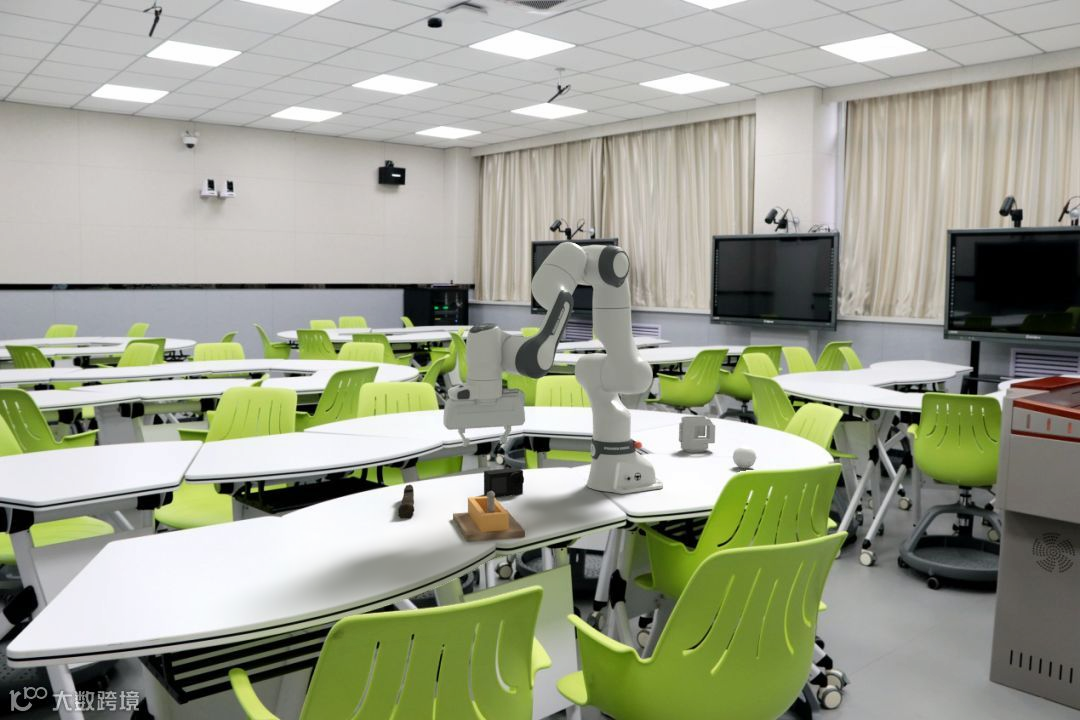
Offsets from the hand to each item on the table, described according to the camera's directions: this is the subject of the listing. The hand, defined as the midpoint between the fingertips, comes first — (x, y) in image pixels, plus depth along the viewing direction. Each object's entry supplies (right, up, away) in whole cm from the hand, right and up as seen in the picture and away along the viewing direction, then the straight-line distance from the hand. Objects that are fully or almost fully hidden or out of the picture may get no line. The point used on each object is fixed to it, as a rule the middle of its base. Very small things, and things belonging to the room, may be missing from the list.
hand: (484, 444), depth 204 cm
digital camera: (+4, -17, +28) cm, 33 cm away
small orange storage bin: (+1, -19, -1) cm, 19 cm away
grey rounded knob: (+80, -14, +64) cm, 103 cm away
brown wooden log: (-22, -19, +14) cm, 32 cm away
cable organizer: (+70, -11, +87) cm, 113 cm away
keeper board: (+1, -20, -2) cm, 20 cm away
